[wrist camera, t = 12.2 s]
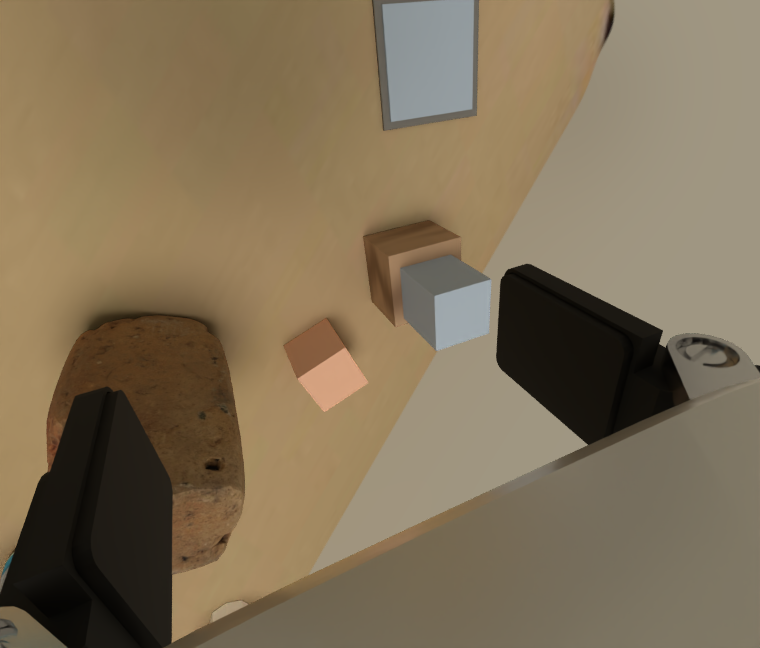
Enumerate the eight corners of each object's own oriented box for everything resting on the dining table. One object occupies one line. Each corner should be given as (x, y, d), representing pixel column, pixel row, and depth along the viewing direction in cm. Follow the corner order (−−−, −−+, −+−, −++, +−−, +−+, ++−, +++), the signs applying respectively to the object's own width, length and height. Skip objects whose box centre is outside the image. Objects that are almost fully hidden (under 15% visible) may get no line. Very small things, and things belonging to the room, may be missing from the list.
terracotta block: (283, 345, 42) (297, 378, 37) (326, 317, 43) (345, 347, 38) (308, 377, 45) (324, 412, 40) (348, 351, 45) (368, 382, 41)
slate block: (400, 268, 36) (434, 296, 31) (450, 254, 38) (491, 279, 33) (403, 318, 39) (436, 350, 34) (451, 303, 40) (488, 333, 35)
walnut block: (362, 236, 40) (388, 256, 35) (428, 219, 42) (460, 237, 37) (371, 300, 44) (395, 327, 39) (431, 282, 46) (461, 306, 41)
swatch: (372, -5, 31) (374, -6, 31) (477, -12, 34) (480, -12, 34) (383, 130, 36) (385, 130, 36) (475, 115, 39) (477, 115, 39)
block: (226, 319, 38) (263, 486, 22) (211, 387, 41) (234, 582, 25) (82, 301, 33) (-6, 503, 17) (75, 381, 36) (-7, 623, 20)
